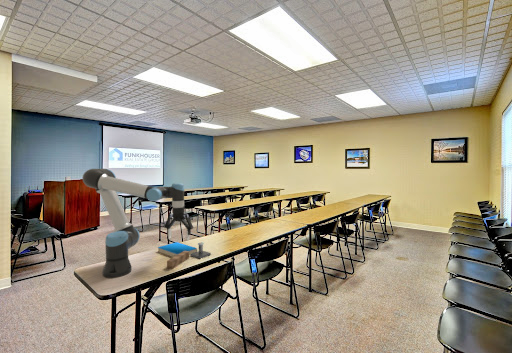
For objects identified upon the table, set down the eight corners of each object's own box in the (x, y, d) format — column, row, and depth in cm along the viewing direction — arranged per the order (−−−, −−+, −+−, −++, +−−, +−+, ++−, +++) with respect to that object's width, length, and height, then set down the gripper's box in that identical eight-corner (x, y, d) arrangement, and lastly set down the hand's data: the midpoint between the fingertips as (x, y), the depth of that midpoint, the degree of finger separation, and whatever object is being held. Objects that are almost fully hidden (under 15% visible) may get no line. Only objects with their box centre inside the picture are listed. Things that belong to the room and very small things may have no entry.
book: (178, 253, 172) (157, 246, 187) (178, 260, 172) (157, 252, 187) (197, 247, 185) (177, 241, 200) (197, 253, 186) (177, 246, 201)
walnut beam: (172, 269, 154) (172, 261, 154) (166, 268, 155) (166, 260, 155) (189, 258, 174) (189, 251, 173) (184, 257, 175) (184, 250, 174)
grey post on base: (200, 259, 172) (200, 245, 171) (190, 256, 177) (190, 243, 177) (210, 254, 180) (210, 242, 179) (201, 252, 185) (201, 240, 185)
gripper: (198, 206, 164) (198, 238, 164) (165, 205, 171) (165, 236, 171) (192, 208, 157) (193, 242, 157) (158, 207, 163) (158, 239, 164)
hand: (178, 239), depth 164 cm, fingers open, 13 cm apart
